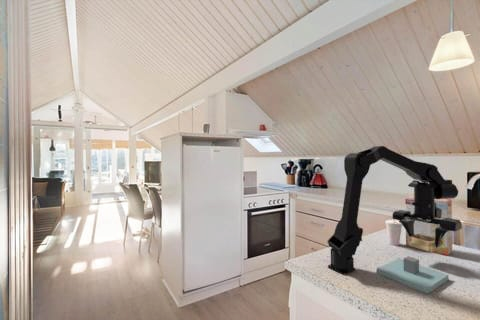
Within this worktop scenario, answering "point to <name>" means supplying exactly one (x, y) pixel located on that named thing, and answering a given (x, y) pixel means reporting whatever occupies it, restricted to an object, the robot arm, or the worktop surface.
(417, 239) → the square frame
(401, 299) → the worktop surface
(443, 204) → the cracker box
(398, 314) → the worktop surface
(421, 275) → the post board
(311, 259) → the worktop surface
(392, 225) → the smoothie
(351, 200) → the robot arm
